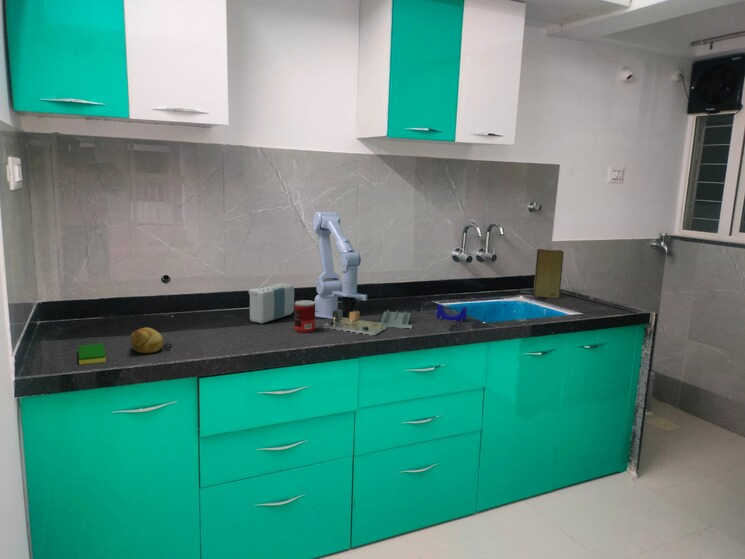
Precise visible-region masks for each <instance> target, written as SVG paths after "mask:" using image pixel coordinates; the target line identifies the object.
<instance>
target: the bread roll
mask: <svg viewBox="0 0 745 559" xmlns="http://www.w3.org/2000/svg"><path fill="white" fill-rule="evenodd" d="M163 338H164V337H163V336H162V334H161V333H160V332H159V331H157V330H156V329H154V328H151V327H141V328H139V329H136V330H134V331H133V332H132V333H131V334H130V340H131V341H130V343H131V348H132V349H133V350H134V352H135V353H138V354H151V353H156V352H159V351H160V349H162V348H163V346H164V339H163Z"/></svg>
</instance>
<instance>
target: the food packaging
mask: <svg viewBox="0 0 745 559" xmlns="http://www.w3.org/2000/svg"><path fill="white" fill-rule="evenodd" d="M535 262H536V263H535V269H534V270H535V272H534V281H533V293H532V295H533V297H535V298H536V297H537V298H549V299H557V300H558V299H560V296H561V285H562V284H561V283H562V274H563V264H564V263H563V262H564V251H563V250H562V249H548V248H537V251H536V260H535Z"/></svg>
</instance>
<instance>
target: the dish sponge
mask: <svg viewBox="0 0 745 559" xmlns="http://www.w3.org/2000/svg"><path fill="white" fill-rule="evenodd" d="M104 346H105V345H104V343H95V344H93V343H92V344H86V345H83V344H82V345H78V348H77V349H78V363H79V365H87V364H88V365H91V364H99V363H106V362H107V358H106V357H107V356H106V351H105V350H106V349H105V347H104Z"/></svg>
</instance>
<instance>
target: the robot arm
mask: <svg viewBox="0 0 745 559" xmlns="http://www.w3.org/2000/svg"><path fill="white" fill-rule="evenodd" d="M312 221H313V229H314V230H313V231H314V233H315V234H317V242H318V250H319V258H320V267H321V274H320V275H318V277H317V278H316V293H318V294H316V296H315V298H314V302H315V317H316V318H317V317H319V318H323V319H324V318H325V319H329V320H332V313H333V311H334V310H336V309H338V304H339V302H338V301H339V300H338V298H341V300H340V302H341V304H342V305H343V308H344V312H345V317H347V318H349V314H350V312H351V311H354V307H355V305H356V304H357V302H358V300H360V301H368V294H362V293H359V292H358V267H359V266H360V265H361V263H362V257H361V254H360V252H359V251H357V250H356V249H354V247H353V246H352V243H351V241H350V240H349V238H348V237H345V236H344V233H343V232H344V231H343V230H342V228H341V227H342V226H341V217H340V213H338V211H316V212H315V213H314V215H313V218H312ZM331 234H332V236H333V239H335V241H336V242H335V248H336V249H337V251H338V253H339V256H340V259H339V260H340V265H341V271H342V280H341V276H340V275H339V274H337V273H336V272H335V268H334V259H333V252H332V244H331V236H330V235H331Z"/></svg>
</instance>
